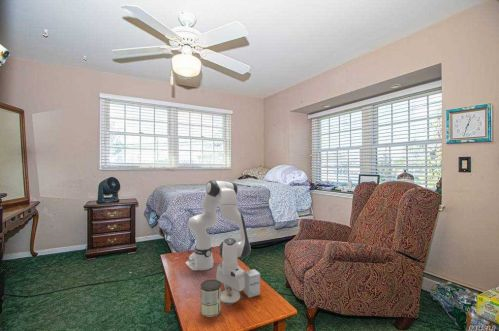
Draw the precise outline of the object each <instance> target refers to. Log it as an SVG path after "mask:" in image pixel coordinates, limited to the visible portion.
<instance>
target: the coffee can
mask: <svg viewBox="0 0 499 331" xmlns="http://www.w3.org/2000/svg"><path fill="white" fill-rule="evenodd" d="M221 289H222V282H220V281H218V280H217V279H207V280H204V281H202V282H201V283H200V314H201V315H202V316H203V317H207V318H209V317H210V318H211V317H216V316H218V315H219V314H220V313H221V310H222V309H221V308H222V306H221V304H222V303H221V292H222V290H221Z"/></svg>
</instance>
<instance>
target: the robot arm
mask: <svg viewBox="0 0 499 331" xmlns="http://www.w3.org/2000/svg"><path fill="white" fill-rule="evenodd" d="M237 194H238V186H237V184H236V183H235V182H230V181H226V180H225V181H224V180H208V182H207V183H206V186H205V195H204V198H203V200H202V203H201V208H202V210H203V212H202V213H200V214H197V215H194V216H192V217H189V219H188V222H187V226H188V228H189V229H190V230H191V231H192V232H193V233H194V237H195V247H193V249H194V251H193V252H192V253H191V254H190V255H189V256H188V260H187V261H185V265H186V266H187V267H188V268H190V270H192V271H207V270H210V269H212V268H213V267H214V264H215V261H214V259H213V252H212V251H213V248H212V236H211V235H210V234H209V233H208V232H207V229H208V228H209V229H210V228H212V227H214V226H215V225H217V224H218V222H219V216H218V214H217V209H218V206H219V212H220V215H221V217H222V218H223V219H225V220H227V221H229V222H232V223H234V224H236V225H237V226H238V230H239V234H240V239H239V240H237V239H235V238H230V237H229V238H225V239H224V240H223V241H222V242H221V243H220V244H219V256H220V258H222V262H221V263H220V264H218V265H217V269H216V276H215V277H216V280H218V281H220V282H221V284H223V286H224V289H225V290H224V291H226V292H227V287H228V286H229V287H231V289H232V291H230V294H231V295H233V294H234V291H235V290H236V291H238V292H239V293H240V292H242V291H244V287H245V279H244V271H245V270H244V269H243V268H242V267H241V266H240V265H239V263H238V258H247V257H248V256H249V255H250V254H251V250H252V248H251V244H250V241H249V237H248V233H247V232H248V231H247V227H246V222H245V218H244V215H243V213H242V212H240V211H239V208H238V200H237V199H238V198H237Z"/></svg>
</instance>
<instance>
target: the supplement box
mask: <svg viewBox="0 0 499 331" xmlns="http://www.w3.org/2000/svg"><path fill="white" fill-rule="evenodd" d="M243 276H244V279H245V287H244V289H243V293H244V294H245V295H246V296H247V297H248V298H253V297H256V296H260V294H261V272H259V271H258V270H256V269H255V268H254V269H250V270H244V275H243Z"/></svg>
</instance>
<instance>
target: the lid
mask: <svg viewBox="0 0 499 331" xmlns="http://www.w3.org/2000/svg"><path fill="white" fill-rule="evenodd" d="M230 291H232V289H231V287H229V286H228V287H227V292H226V291H225V290H223V291H222V290H221V302H222V303H223V304H224V303H234V304H235V302H236V303H237V302H239V301H240V300H239V299H240V295H241V293H240V292H239V291H237V290H235V291H234V294H233V295H231V294H230ZM238 300H239V301H238Z"/></svg>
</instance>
